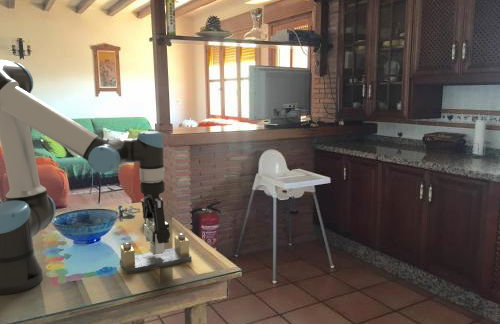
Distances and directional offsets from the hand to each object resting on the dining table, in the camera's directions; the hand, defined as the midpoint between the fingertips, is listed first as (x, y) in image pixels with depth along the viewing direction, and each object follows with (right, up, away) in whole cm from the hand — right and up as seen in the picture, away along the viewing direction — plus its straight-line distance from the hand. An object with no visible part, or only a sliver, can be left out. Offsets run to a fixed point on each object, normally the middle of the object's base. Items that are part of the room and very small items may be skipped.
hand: (155, 246), depth 141 cm
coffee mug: (-11, +2, +40) cm, 41 cm away
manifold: (0, -5, +1) cm, 5 cm away
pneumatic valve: (0, -2, 0) cm, 2 cm away
